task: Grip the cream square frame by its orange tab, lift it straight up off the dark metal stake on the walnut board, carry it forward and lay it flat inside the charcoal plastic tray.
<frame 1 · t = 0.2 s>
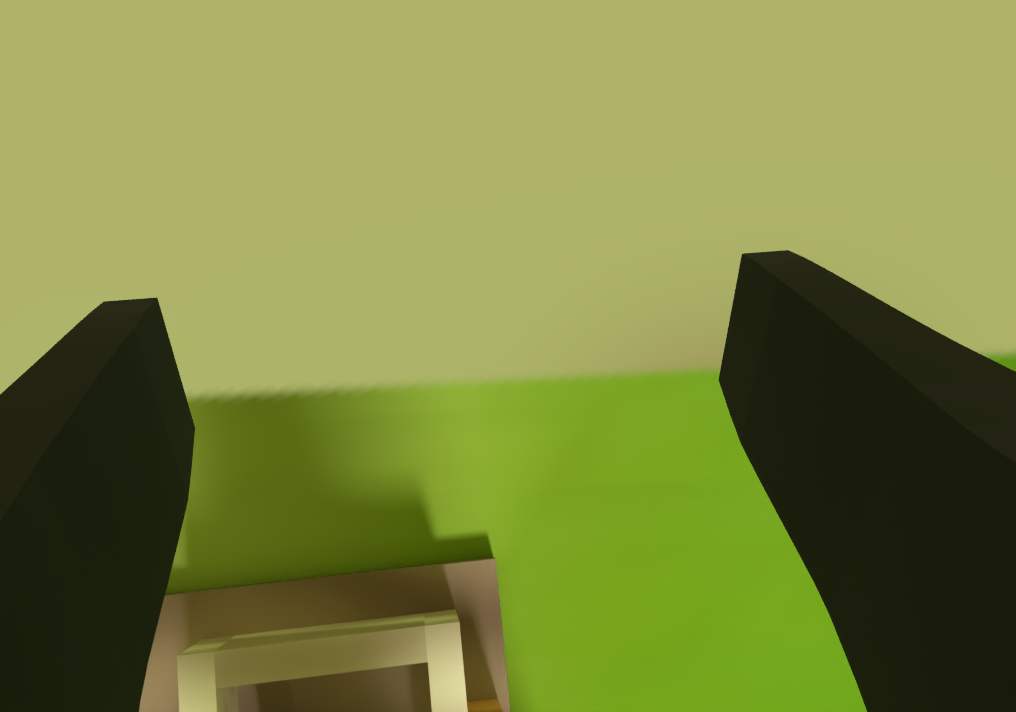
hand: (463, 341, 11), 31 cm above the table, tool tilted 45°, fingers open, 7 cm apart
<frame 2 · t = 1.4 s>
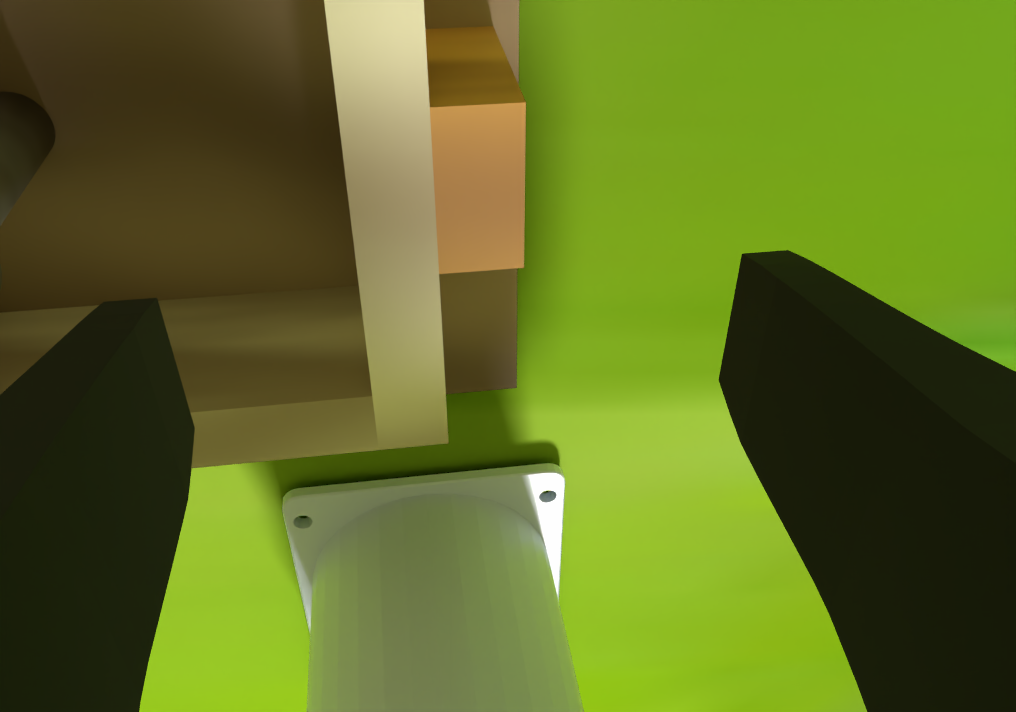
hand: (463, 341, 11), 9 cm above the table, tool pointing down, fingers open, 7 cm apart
stake board: (119, 103, 18), on the table
cream square frame: (135, 121, 17), point 1 cm above the table, touching stake board
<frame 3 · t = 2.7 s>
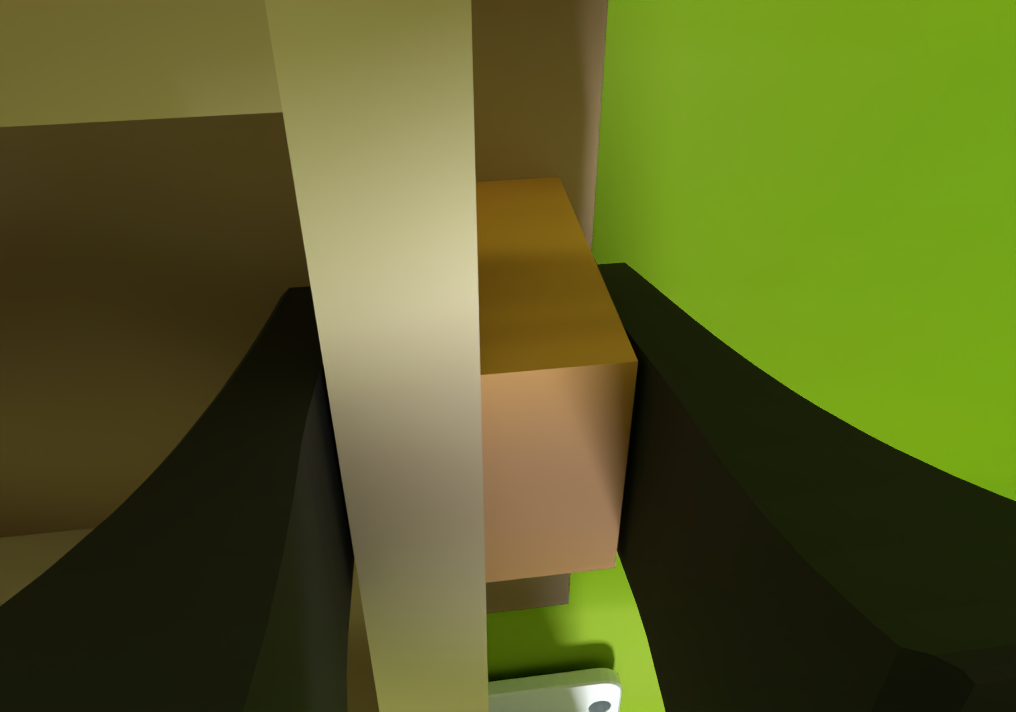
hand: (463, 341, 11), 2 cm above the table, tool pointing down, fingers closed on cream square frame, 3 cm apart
stake board: (16, 277, 12), on the table
cream square frame: (33, 314, 12), point 1 cm above the table, touching gripper, stake board
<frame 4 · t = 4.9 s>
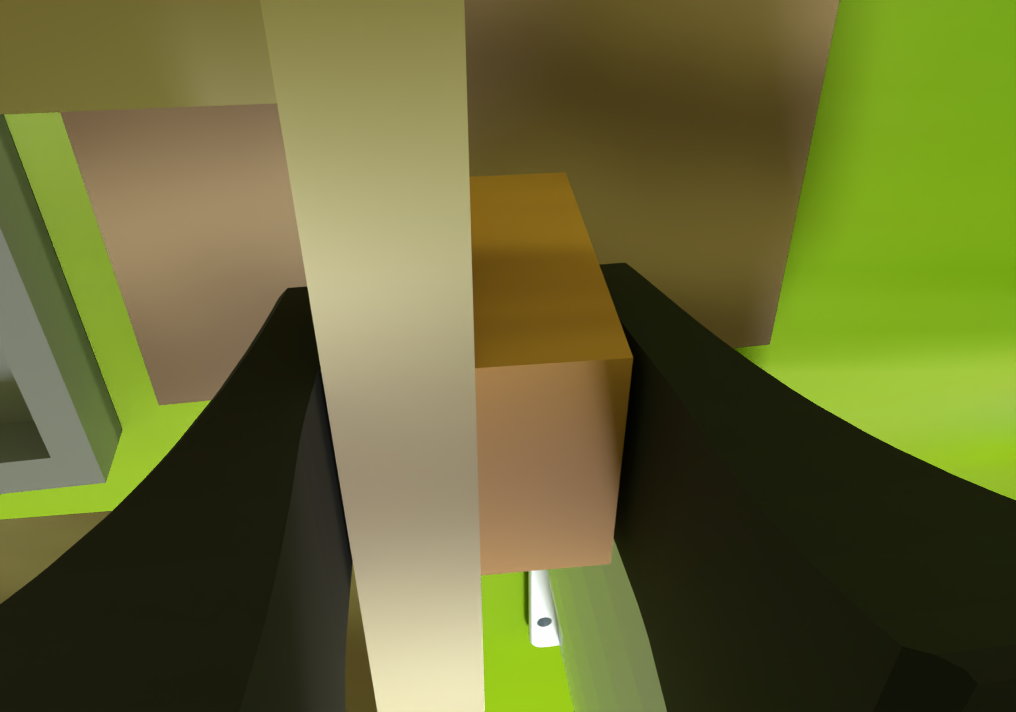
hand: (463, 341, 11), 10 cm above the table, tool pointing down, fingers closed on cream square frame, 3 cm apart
stake board: (456, 75, 19), on the table
cream square frame: (45, 299, 12), point 8 cm above the table, touching gripper
when the fingers open (3 cm above the table, at t = 7.3 s): cream square frame stays where it is, resting on tray.
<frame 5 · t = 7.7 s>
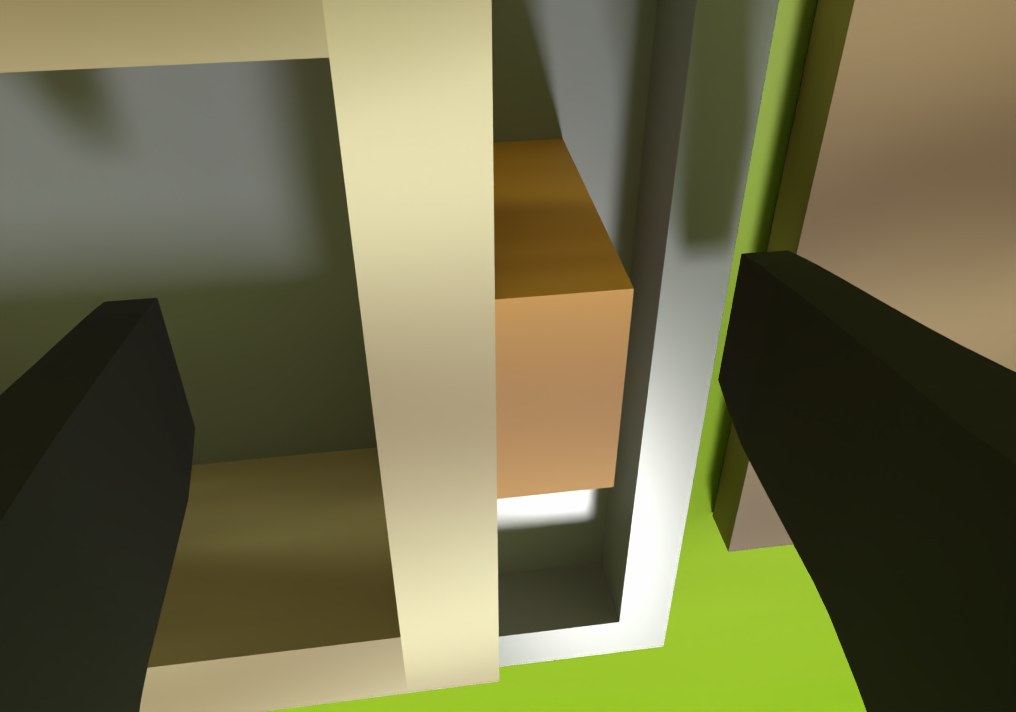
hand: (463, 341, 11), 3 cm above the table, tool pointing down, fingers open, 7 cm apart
tray: (103, 244, 13), on the table
cream square frame: (82, 264, 13), resting on tray
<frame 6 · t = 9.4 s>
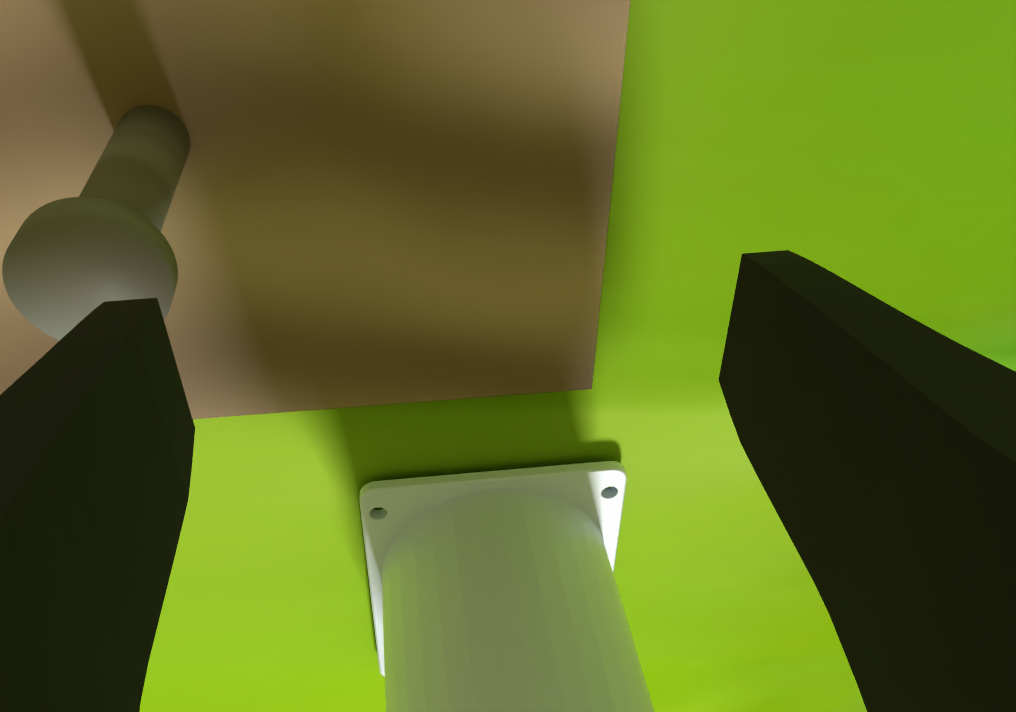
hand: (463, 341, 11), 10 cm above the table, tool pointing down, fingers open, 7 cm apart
stake board: (244, 116, 19), on the table
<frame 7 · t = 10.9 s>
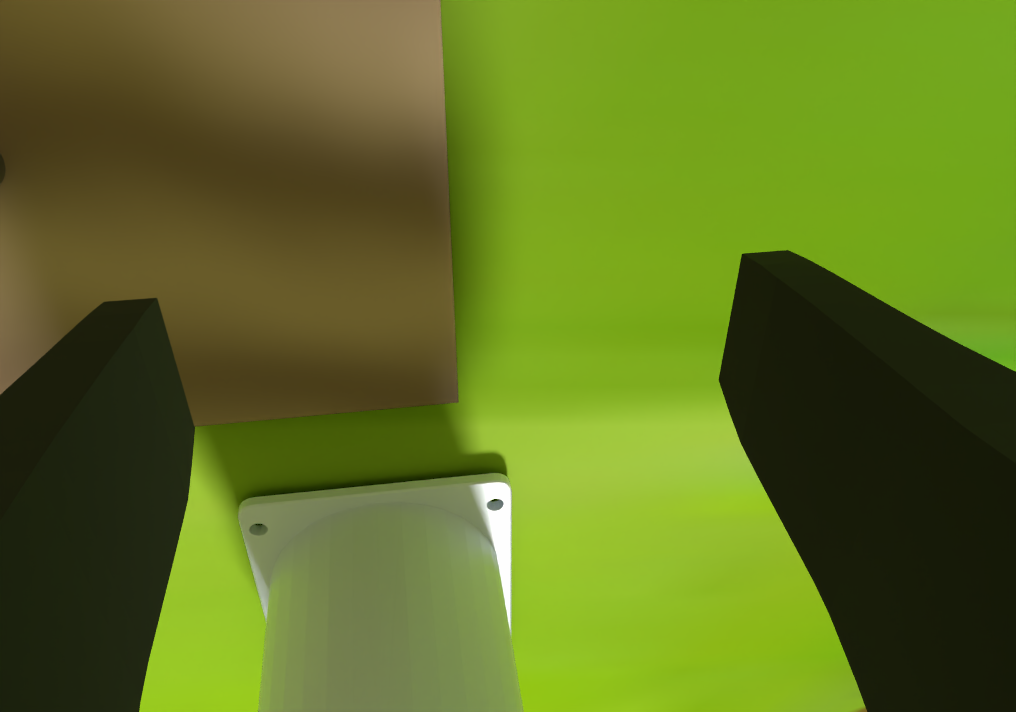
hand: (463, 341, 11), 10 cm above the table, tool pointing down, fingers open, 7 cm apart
stake board: (67, 137, 19), on the table
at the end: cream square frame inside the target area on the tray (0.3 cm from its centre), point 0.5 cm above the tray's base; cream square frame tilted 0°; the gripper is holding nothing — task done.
